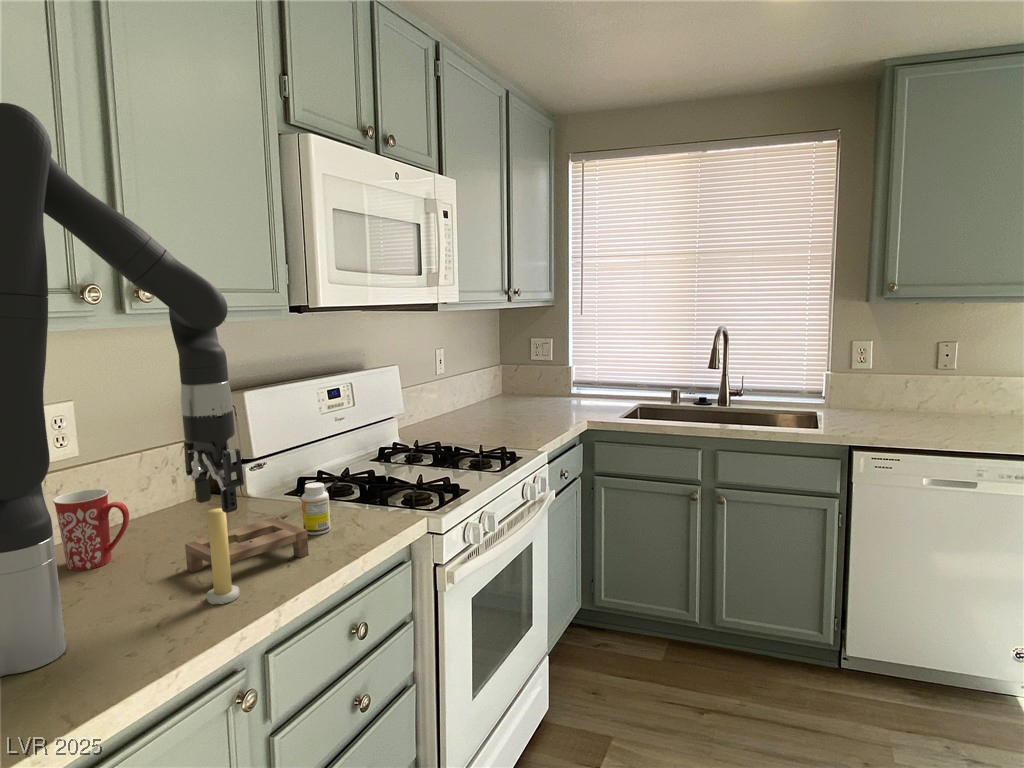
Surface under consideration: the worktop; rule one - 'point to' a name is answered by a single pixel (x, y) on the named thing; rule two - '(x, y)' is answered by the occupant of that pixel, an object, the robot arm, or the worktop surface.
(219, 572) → the peg
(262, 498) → the worktop surface
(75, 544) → the mug
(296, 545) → the keyhole board
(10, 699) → the worktop surface
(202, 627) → the worktop surface
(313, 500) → the supplement bottle
